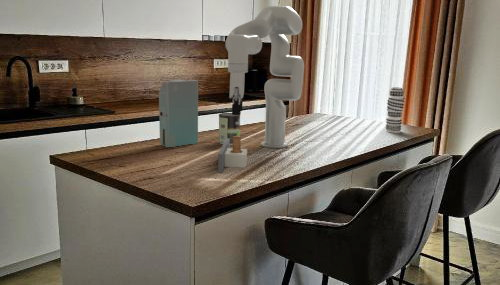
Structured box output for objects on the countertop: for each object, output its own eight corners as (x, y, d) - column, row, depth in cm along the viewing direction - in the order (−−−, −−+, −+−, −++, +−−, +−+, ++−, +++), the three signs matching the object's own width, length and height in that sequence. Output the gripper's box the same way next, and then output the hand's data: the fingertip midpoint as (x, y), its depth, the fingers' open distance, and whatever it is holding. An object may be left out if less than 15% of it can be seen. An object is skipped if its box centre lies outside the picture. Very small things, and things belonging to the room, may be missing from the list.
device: (189, 140, 225) (188, 79, 219) (198, 143, 220) (198, 80, 213) (159, 145, 214) (158, 80, 208) (168, 148, 209) (167, 82, 202)
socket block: (227, 160, 187) (227, 148, 186) (246, 160, 187) (247, 148, 186) (224, 166, 178) (224, 154, 177) (245, 167, 177) (245, 154, 176)
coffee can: (241, 141, 227) (242, 113, 224) (237, 145, 217) (237, 116, 214) (221, 140, 229) (221, 112, 226) (215, 144, 219) (216, 115, 216)
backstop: (225, 156, 196) (226, 138, 195) (269, 158, 196) (269, 139, 194) (218, 175, 169) (218, 154, 167) (268, 177, 168) (269, 155, 167)
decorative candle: (403, 133, 259) (408, 88, 254) (387, 132, 259) (391, 88, 254) (398, 130, 268) (403, 87, 263) (382, 129, 268) (386, 86, 263)
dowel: (232, 160, 184) (233, 135, 182) (240, 160, 184) (241, 135, 182) (231, 162, 181) (232, 137, 179) (240, 162, 181) (240, 137, 178)
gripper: (230, 66, 183) (229, 109, 187) (225, 69, 166) (225, 116, 170) (249, 66, 183) (248, 109, 186) (246, 70, 166) (245, 116, 170)
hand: (237, 112), depth 178 cm, fingers open, 9 cm apart
